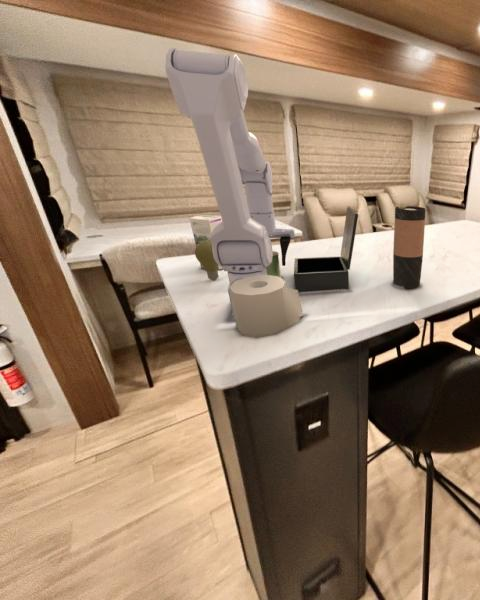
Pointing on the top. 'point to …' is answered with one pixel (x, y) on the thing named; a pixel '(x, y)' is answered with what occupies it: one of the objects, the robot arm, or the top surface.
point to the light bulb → (207, 259)
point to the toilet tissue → (264, 305)
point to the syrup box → (204, 228)
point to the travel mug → (408, 246)
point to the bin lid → (349, 236)
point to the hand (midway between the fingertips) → (268, 265)
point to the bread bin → (320, 274)
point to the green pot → (274, 266)
